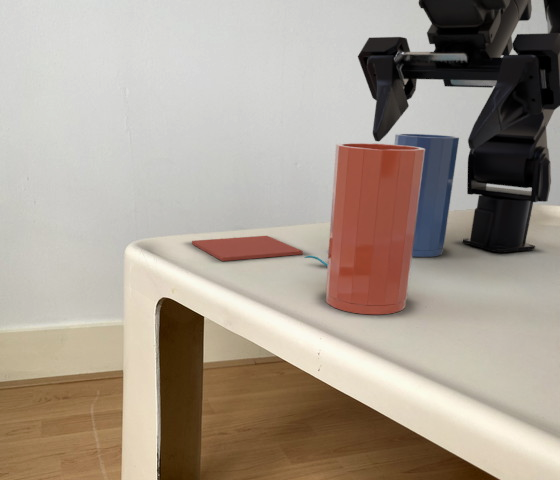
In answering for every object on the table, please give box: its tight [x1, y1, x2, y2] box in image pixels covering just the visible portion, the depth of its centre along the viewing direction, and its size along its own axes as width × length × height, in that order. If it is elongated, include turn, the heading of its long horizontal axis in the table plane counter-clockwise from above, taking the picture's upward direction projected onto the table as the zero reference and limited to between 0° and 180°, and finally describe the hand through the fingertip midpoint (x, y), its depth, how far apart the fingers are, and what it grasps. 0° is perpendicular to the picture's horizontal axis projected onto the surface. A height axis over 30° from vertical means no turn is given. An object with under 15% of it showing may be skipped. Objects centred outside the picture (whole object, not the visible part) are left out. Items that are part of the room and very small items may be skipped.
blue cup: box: [393, 133, 460, 258], centre depth 73 cm, size 7×7×13 cm
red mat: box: [191, 235, 304, 262], centre depth 73 cm, size 10×9×1 cm
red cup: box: [325, 142, 425, 316], centre depth 53 cm, size 7×7×13 cm
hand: (420, 141), depth 56 cm, fingers open, 9 cm apart
